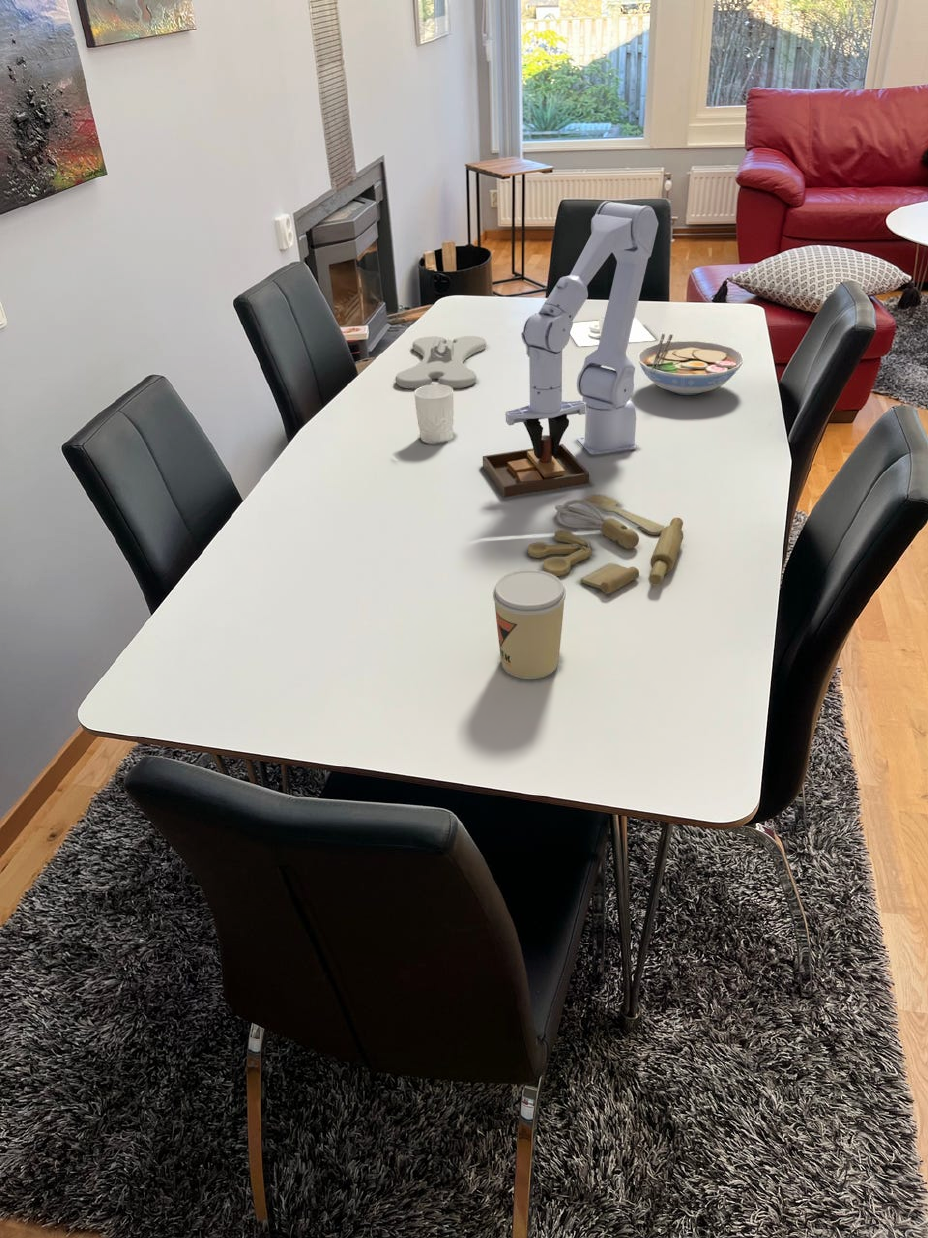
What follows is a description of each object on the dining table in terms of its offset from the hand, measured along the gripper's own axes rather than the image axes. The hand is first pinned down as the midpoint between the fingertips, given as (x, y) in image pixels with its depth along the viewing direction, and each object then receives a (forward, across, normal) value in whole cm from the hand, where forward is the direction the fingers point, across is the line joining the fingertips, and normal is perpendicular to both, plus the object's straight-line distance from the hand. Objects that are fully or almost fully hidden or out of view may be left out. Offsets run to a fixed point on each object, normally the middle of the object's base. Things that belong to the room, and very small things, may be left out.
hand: (545, 455), depth 170 cm
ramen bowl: (+4, -44, -30) cm, 54 cm away
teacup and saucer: (+4, -44, -76) cm, 88 cm away
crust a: (+3, +4, -3) cm, 6 cm away
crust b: (+3, +4, +3) cm, 6 cm away
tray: (+4, +2, 0) cm, 5 cm away
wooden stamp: (+3, 0, 0) cm, 3 cm away
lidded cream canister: (+4, +21, +54) cm, 59 cm away
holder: (+4, +3, -68) cm, 68 cm away
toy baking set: (+4, -1, +28) cm, 28 cm away
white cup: (+4, +15, -24) cm, 29 cm away
